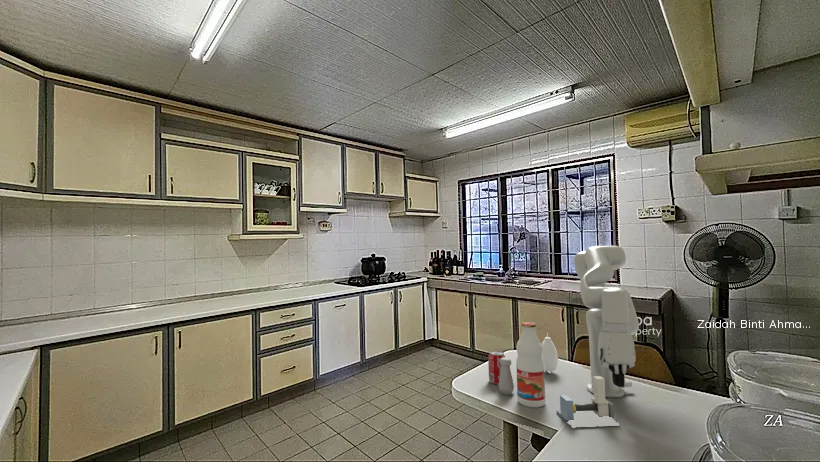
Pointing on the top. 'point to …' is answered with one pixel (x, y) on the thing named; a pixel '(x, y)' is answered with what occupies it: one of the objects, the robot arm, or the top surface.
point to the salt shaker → (505, 377)
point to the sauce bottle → (549, 355)
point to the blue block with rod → (578, 408)
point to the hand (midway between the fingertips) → (618, 385)
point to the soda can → (495, 366)
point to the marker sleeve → (600, 396)
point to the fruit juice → (530, 368)
